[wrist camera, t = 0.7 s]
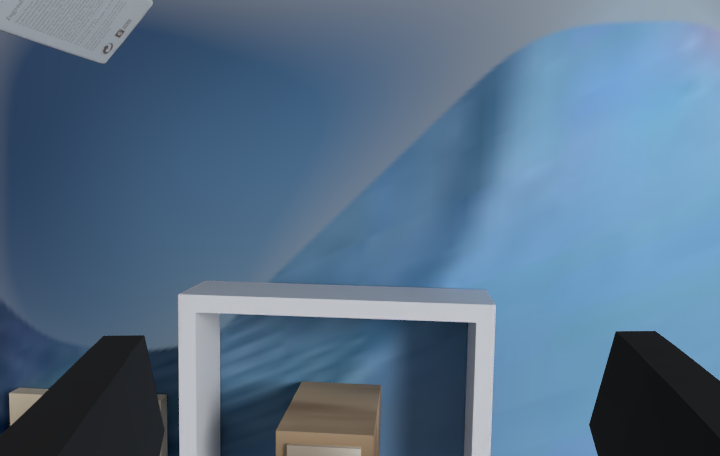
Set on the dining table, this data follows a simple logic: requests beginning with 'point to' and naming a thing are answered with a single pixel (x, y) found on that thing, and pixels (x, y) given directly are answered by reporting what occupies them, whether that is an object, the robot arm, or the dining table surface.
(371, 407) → the oak block
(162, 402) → the birch pad
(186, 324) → the white square frame
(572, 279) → the dining table surface
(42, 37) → the skincare box
